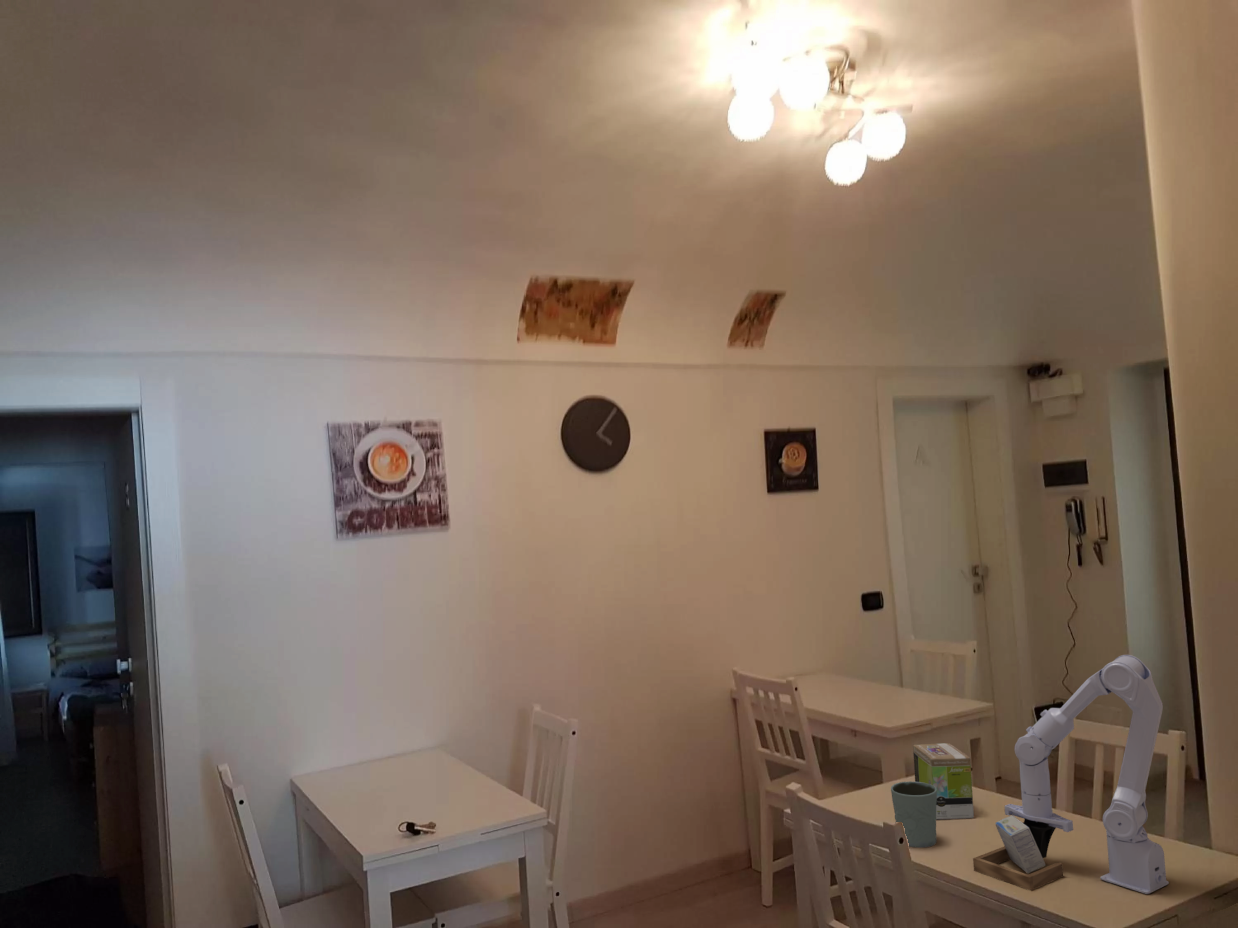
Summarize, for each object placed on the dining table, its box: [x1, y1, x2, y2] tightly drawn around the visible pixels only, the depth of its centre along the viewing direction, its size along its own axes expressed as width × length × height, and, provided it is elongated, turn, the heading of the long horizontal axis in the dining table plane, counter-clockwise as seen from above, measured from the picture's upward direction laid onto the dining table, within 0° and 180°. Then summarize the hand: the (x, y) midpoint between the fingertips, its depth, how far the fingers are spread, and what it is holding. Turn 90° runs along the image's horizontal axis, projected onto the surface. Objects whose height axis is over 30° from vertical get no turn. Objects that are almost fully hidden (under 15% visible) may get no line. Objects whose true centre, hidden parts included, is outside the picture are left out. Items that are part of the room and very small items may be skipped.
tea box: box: [912, 742, 975, 820], centre depth 231 cm, size 15×10×15 cm, turn 179°
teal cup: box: [890, 781, 937, 849], centre depth 211 cm, size 10×10×12 cm
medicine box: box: [995, 815, 1046, 875], centre depth 193 cm, size 8×4×9 cm, turn 1°
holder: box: [972, 845, 1064, 891], centre depth 190 cm, size 13×11×2 cm
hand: (1040, 857), depth 194 cm, fingers closed
